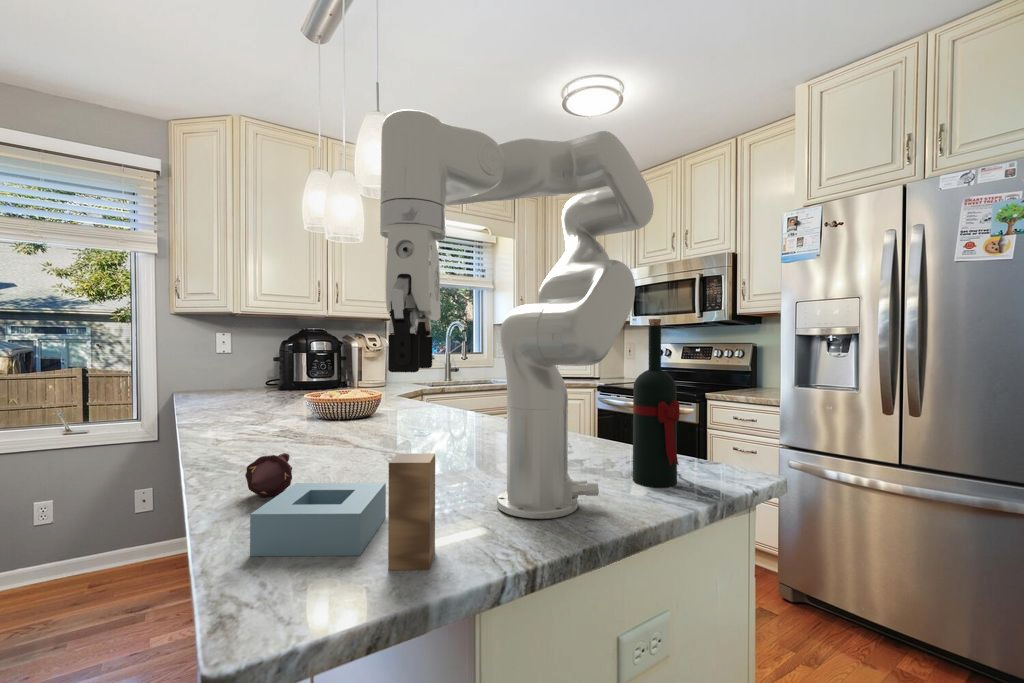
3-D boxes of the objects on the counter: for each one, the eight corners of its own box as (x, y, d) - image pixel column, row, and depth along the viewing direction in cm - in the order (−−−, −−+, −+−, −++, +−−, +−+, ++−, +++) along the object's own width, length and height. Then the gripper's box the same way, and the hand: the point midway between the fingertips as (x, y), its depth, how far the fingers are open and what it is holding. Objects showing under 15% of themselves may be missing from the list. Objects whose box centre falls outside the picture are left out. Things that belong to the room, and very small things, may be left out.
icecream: (285, 467, 75) (309, 454, 90) (235, 456, 74) (268, 444, 89) (271, 512, 74) (298, 491, 89) (221, 502, 73) (256, 483, 88)
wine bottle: (654, 493, 83) (654, 316, 83) (624, 477, 93) (625, 319, 93) (694, 489, 85) (694, 317, 85) (661, 474, 95) (661, 320, 95)
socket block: (385, 517, 71) (385, 482, 71) (360, 555, 58) (360, 513, 58) (295, 517, 71) (295, 483, 71) (249, 556, 58) (250, 514, 58)
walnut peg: (435, 552, 59) (435, 453, 60) (429, 569, 55) (429, 462, 55) (396, 552, 59) (397, 453, 59) (388, 570, 55) (388, 462, 55)
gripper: (435, 202, 49) (434, 374, 49) (452, 240, 66) (451, 366, 66) (359, 201, 49) (358, 374, 49) (397, 239, 66) (396, 366, 66)
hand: (412, 369), depth 57 cm, fingers open, 9 cm apart
